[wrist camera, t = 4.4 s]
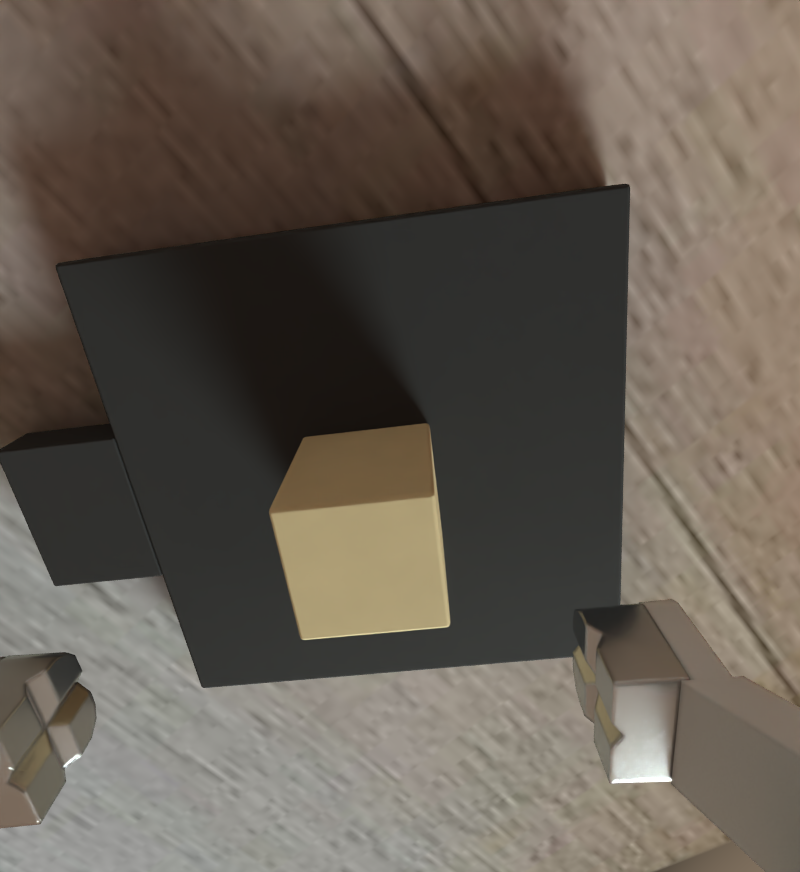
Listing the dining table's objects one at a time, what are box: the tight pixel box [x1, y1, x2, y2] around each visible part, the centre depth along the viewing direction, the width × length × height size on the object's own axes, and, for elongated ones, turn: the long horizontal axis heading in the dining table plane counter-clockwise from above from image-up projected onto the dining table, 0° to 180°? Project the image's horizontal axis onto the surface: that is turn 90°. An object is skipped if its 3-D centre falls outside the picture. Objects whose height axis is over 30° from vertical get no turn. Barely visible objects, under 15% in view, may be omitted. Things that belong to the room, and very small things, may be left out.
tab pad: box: [0, 184, 630, 688], centre depth 13 cm, size 15×12×5 cm
